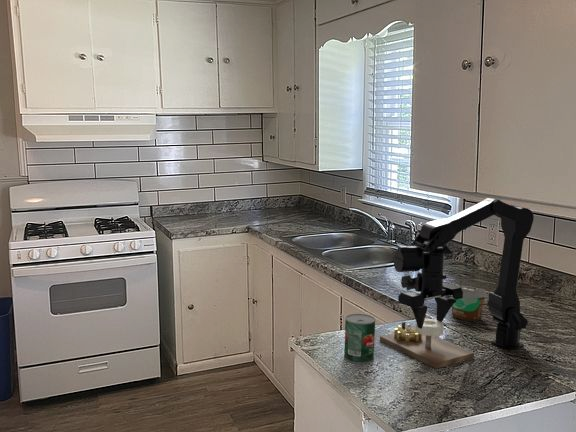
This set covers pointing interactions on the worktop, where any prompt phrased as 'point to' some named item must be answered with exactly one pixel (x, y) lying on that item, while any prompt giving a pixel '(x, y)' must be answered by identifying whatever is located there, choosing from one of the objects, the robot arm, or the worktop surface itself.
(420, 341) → the gear board
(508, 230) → the robot arm
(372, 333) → the canned tomato
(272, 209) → the worktop surface
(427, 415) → the worktop surface
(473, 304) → the food container
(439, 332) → the loose gear
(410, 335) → the gear
